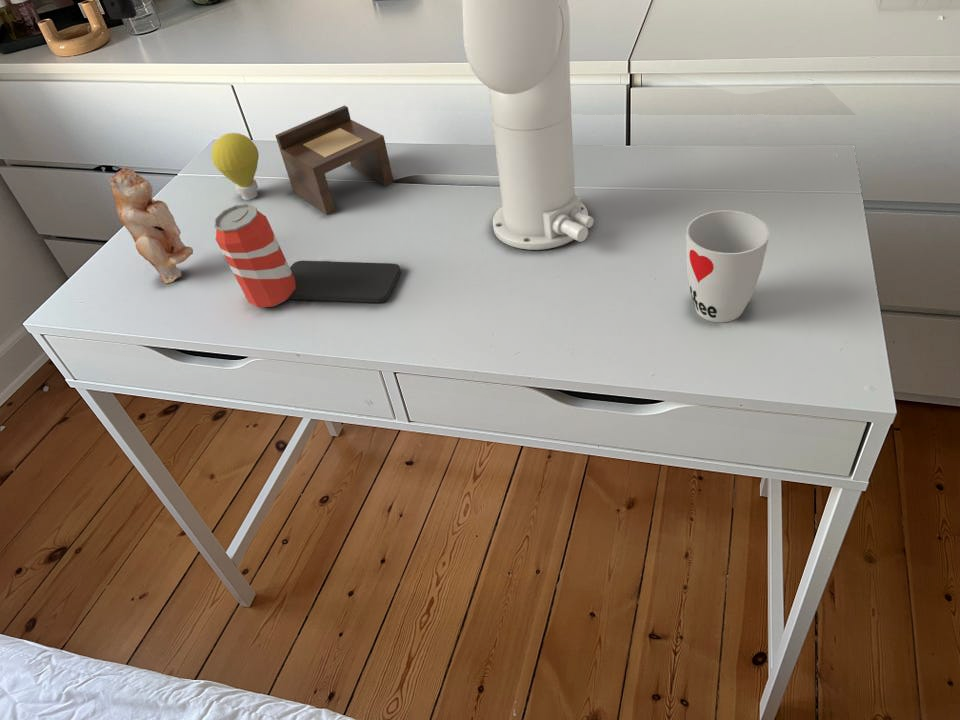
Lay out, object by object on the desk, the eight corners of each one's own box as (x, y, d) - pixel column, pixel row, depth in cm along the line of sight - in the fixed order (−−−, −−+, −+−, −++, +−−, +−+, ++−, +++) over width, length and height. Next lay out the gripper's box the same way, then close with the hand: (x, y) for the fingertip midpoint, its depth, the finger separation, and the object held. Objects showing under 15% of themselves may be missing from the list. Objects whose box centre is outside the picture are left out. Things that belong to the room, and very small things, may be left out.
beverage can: (306, 281, 98) (271, 202, 90) (279, 314, 94) (239, 235, 86) (269, 276, 101) (231, 198, 92) (241, 308, 97) (198, 230, 89)
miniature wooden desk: (394, 181, 116) (380, 122, 110) (326, 215, 111) (309, 155, 105) (358, 162, 123) (344, 105, 116) (293, 193, 118) (274, 135, 111)
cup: (673, 291, 88) (677, 216, 82) (743, 281, 88) (753, 205, 82) (693, 336, 82) (699, 259, 76) (769, 325, 82) (781, 247, 76)
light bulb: (280, 189, 119) (260, 128, 113) (249, 210, 115) (227, 149, 109) (250, 181, 122) (228, 122, 116) (219, 202, 118) (195, 142, 112)
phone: (384, 299, 93) (272, 294, 96) (386, 304, 93) (274, 299, 97) (402, 263, 98) (294, 259, 102) (403, 268, 99) (296, 264, 102)
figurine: (189, 287, 102) (142, 186, 92) (139, 286, 104) (87, 187, 94) (210, 260, 106) (167, 161, 96) (161, 259, 108) (115, 162, 98)
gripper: (61, -157, 73) (136, 27, 85) (149, -187, 86) (205, -23, 97) (-6, -148, 75) (77, 32, 86) (91, -179, 87) (152, -18, 99)
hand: (145, 3), depth 92 cm, fingers open, 9 cm apart
